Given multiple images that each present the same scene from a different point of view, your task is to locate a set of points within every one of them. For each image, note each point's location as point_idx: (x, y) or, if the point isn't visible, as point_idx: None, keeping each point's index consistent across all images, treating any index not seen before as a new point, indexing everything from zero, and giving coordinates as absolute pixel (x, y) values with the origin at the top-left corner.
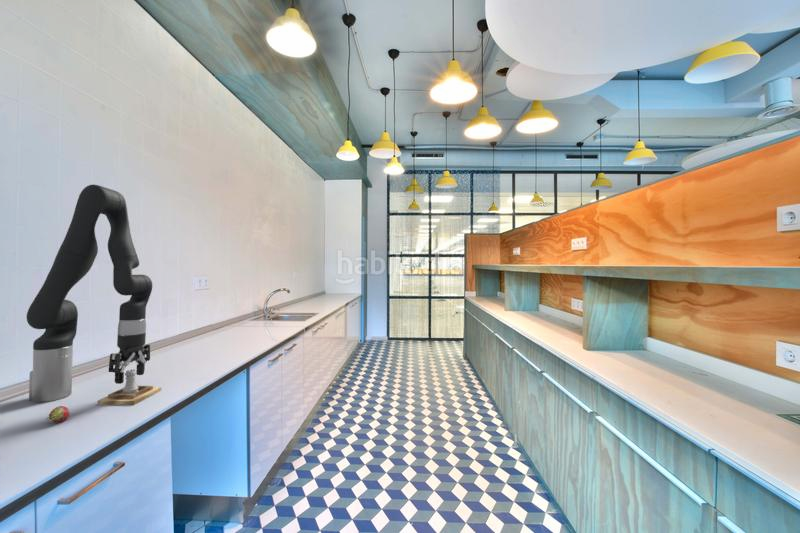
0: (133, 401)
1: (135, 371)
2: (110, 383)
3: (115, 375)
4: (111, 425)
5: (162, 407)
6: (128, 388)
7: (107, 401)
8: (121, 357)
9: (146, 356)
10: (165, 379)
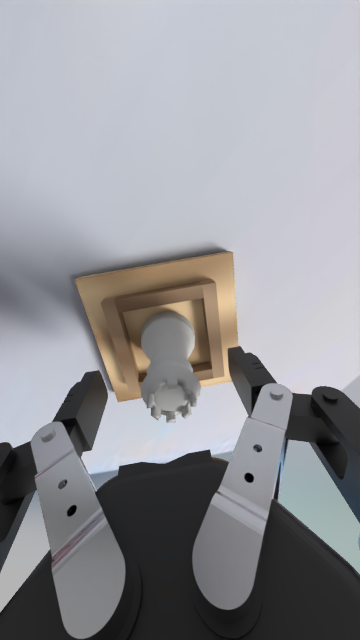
0: (117, 399)
1: (183, 412)
2: (321, 18)
3: (57, 418)
4: None
5: (129, 461)
6: (149, 358)
7: (89, 318)
8: (40, 582)
9: (325, 463)
10: (356, 289)
